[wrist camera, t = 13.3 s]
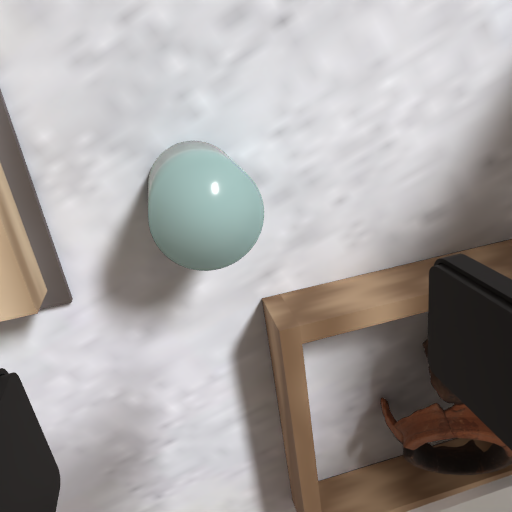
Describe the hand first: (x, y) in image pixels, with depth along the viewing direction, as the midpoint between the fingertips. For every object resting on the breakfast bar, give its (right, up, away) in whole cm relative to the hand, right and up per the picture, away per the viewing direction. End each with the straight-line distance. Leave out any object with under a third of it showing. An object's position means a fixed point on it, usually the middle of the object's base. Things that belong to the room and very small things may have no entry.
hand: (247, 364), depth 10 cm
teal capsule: (-3, +6, +15) cm, 16 cm away
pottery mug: (+13, -6, +24) cm, 28 cm away
